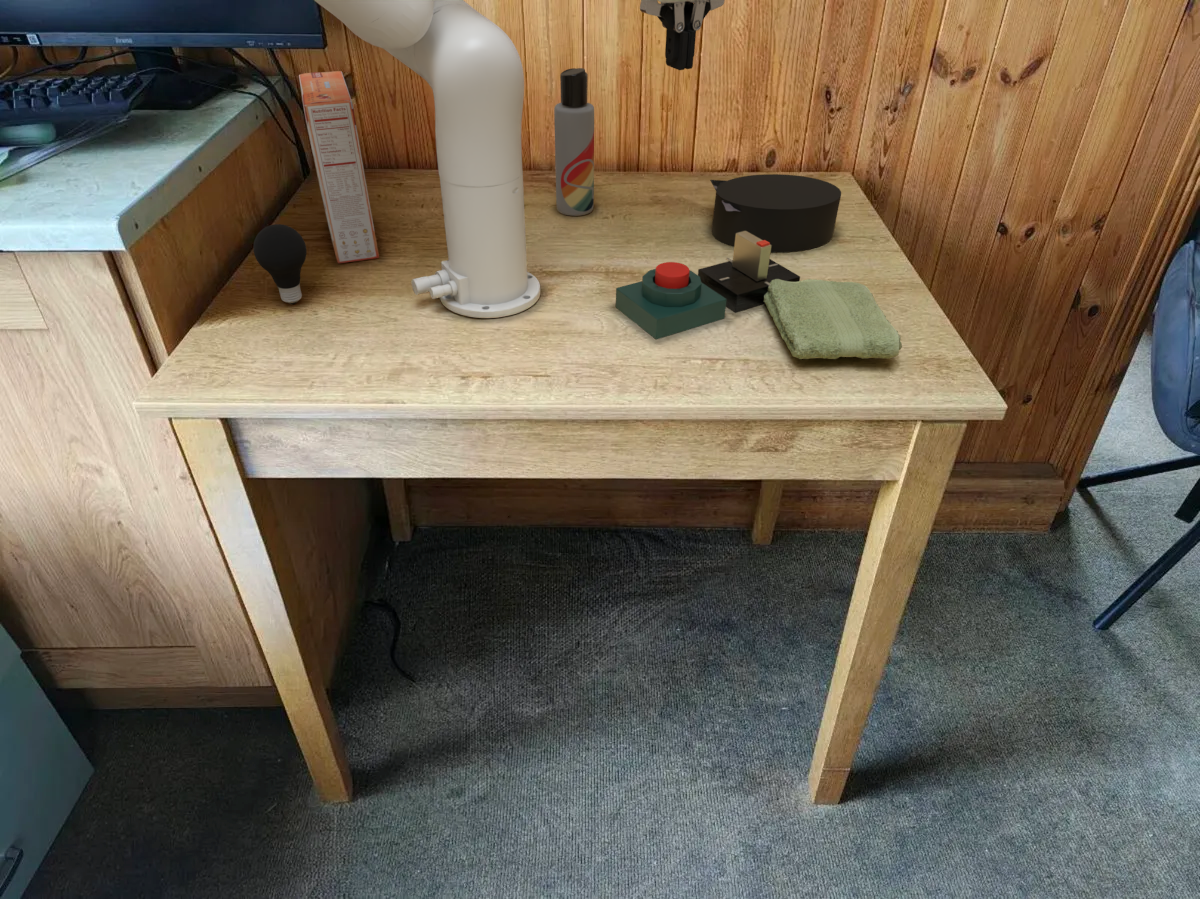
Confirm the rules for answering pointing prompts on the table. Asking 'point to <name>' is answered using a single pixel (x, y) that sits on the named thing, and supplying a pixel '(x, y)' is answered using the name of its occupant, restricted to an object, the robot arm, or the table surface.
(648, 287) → the button block
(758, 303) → the dial panel
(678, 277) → the button
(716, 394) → the table surface
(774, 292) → the washcloth
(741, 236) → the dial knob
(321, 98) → the cracker box
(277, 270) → the light bulb
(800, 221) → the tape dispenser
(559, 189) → the lotion bottle
